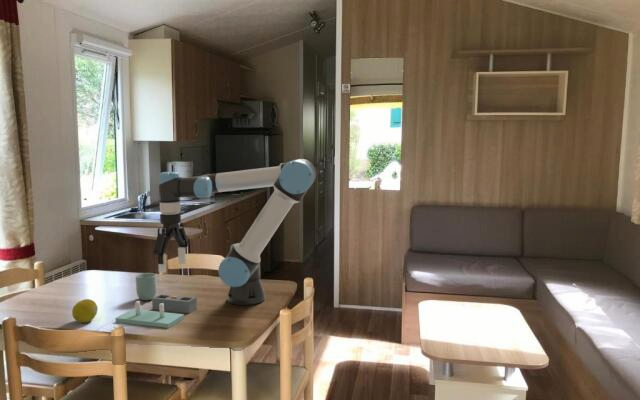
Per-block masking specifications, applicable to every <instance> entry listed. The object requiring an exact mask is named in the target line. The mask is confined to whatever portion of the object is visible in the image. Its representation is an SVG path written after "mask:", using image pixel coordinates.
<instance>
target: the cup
mask: <svg viewBox="0 0 640 400" xmlns="http://www.w3.org/2000/svg"><path fill="white" fill-rule="evenodd" d="M135 289H136V295H137V297H138V298H139V300H140V301H141V300H142V301H150V300H151V301H152V298H154V297H156V296H157V275H156V273H153V272H145V273H138V274H137V275H135Z"/></svg>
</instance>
